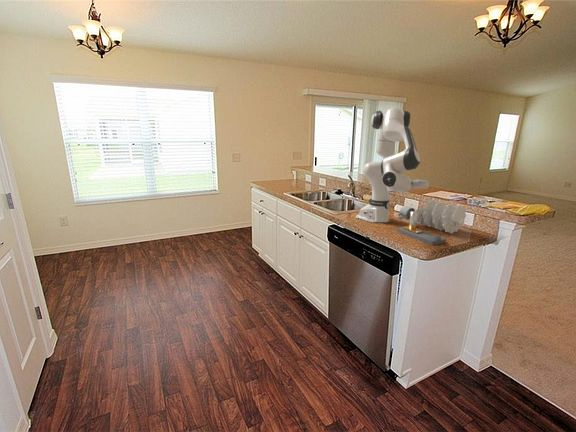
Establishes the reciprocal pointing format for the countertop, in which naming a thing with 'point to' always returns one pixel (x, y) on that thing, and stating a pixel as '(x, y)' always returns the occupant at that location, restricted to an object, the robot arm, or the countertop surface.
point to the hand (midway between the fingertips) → (413, 187)
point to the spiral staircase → (441, 216)
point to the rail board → (422, 236)
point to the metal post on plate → (413, 223)
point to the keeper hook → (437, 237)
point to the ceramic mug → (405, 212)
